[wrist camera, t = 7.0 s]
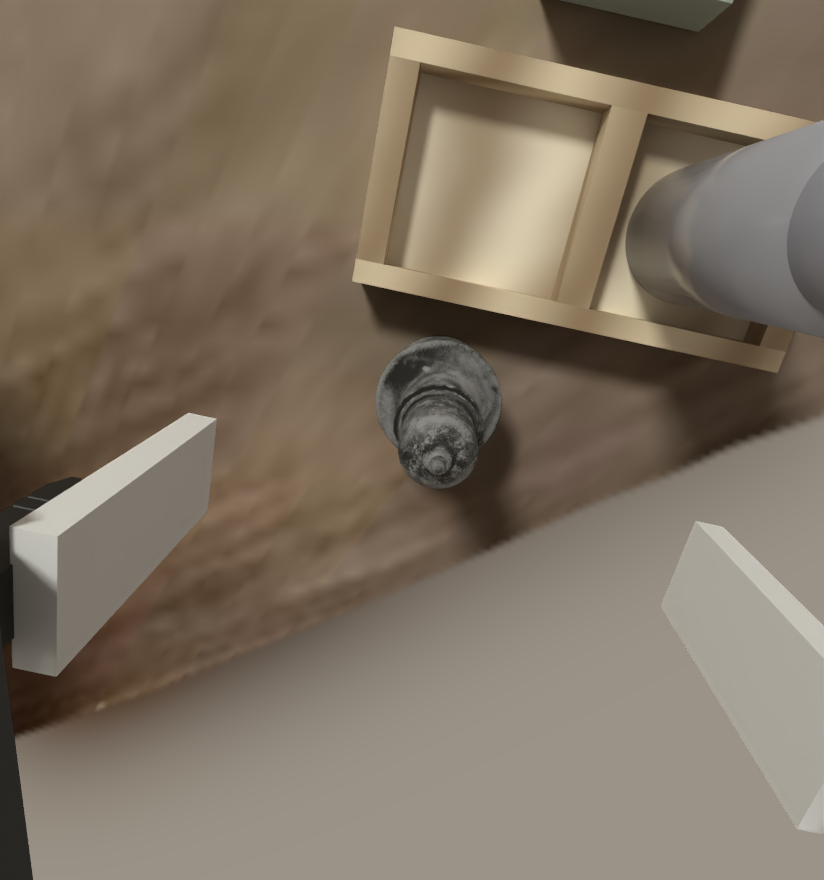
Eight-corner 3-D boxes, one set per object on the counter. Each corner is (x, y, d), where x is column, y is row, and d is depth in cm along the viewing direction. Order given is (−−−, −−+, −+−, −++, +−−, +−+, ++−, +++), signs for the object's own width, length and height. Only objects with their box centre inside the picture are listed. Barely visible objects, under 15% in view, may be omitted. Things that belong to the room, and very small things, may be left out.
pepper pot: (608, 289, 27) (766, 326, 14) (650, 151, 25) (879, 44, 12) (730, 316, 27) (1001, 377, 14) (782, 180, 25) (1150, 106, 12)
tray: (359, 278, 28) (352, 281, 26) (399, 47, 25) (394, 26, 23) (749, 363, 29) (777, 373, 26) (836, 146, 26) (876, 136, 23)
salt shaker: (481, 448, 31) (506, 564, 20) (374, 429, 31) (336, 533, 19) (506, 340, 29) (549, 399, 18) (392, 320, 29) (361, 365, 18)
